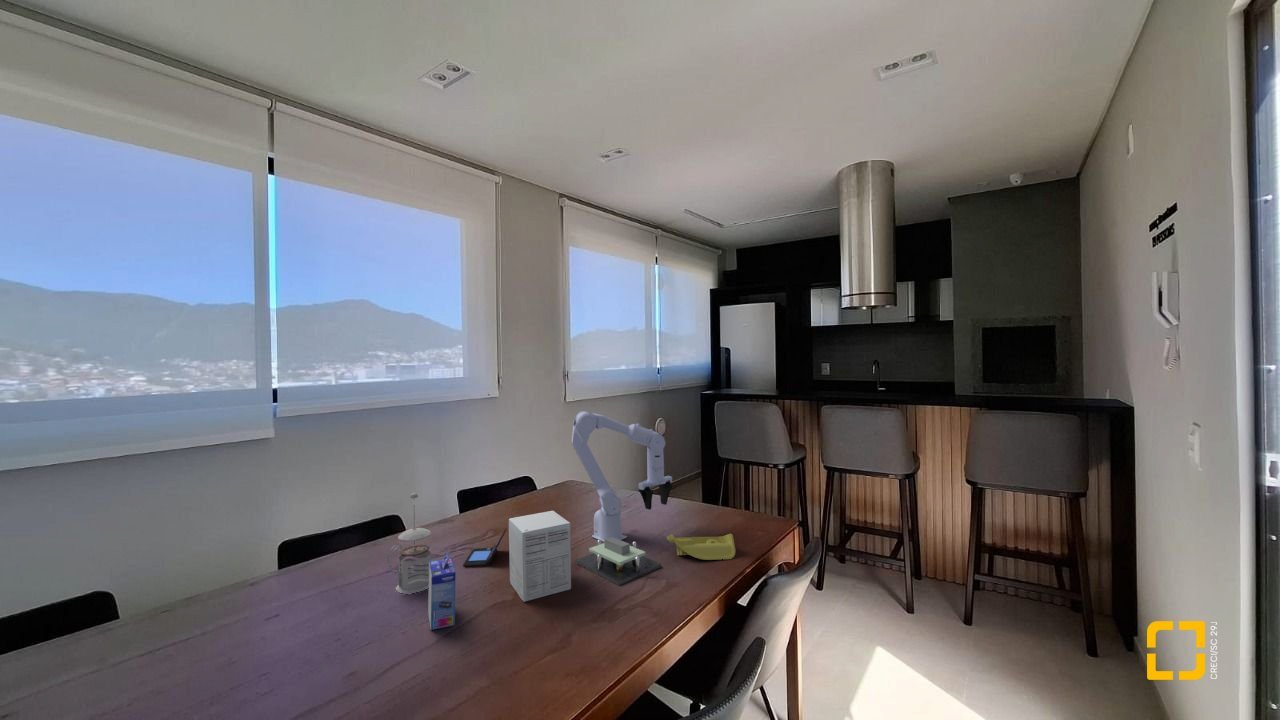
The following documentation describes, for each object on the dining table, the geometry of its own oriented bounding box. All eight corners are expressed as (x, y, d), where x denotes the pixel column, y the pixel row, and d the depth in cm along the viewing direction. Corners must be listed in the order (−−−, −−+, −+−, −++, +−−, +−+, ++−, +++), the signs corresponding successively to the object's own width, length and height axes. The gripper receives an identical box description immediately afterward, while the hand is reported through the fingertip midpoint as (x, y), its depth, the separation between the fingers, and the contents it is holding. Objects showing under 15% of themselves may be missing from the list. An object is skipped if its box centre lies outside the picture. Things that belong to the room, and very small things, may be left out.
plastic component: (722, 536, 153) (733, 532, 144) (724, 561, 150) (737, 558, 141) (663, 537, 149) (671, 533, 140) (664, 563, 146) (673, 560, 137)
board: (589, 551, 140) (588, 539, 140) (614, 541, 147) (614, 531, 147) (619, 565, 130) (619, 553, 130) (645, 554, 136) (645, 543, 136)
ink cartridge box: (457, 625, 107) (456, 561, 107) (430, 632, 105) (429, 566, 105) (452, 606, 116) (451, 547, 116) (428, 611, 114) (427, 551, 114)
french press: (441, 584, 127) (440, 492, 128) (395, 601, 119) (394, 502, 119) (426, 574, 134) (424, 486, 134) (382, 588, 126) (380, 495, 126)
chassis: (575, 563, 140) (575, 546, 140) (616, 548, 151) (616, 532, 151) (619, 585, 125) (618, 566, 125) (661, 567, 136) (661, 549, 136)
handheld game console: (473, 552, 150) (472, 528, 150) (507, 550, 151) (507, 527, 151) (461, 569, 138) (461, 543, 138) (499, 567, 139) (499, 542, 139)
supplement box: (572, 589, 124) (571, 522, 124) (523, 603, 117) (522, 532, 117) (554, 570, 135) (553, 509, 135) (508, 582, 128) (507, 518, 128)
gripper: (648, 472, 155) (649, 513, 155) (678, 465, 165) (678, 504, 165) (634, 469, 160) (634, 509, 160) (663, 462, 170) (664, 500, 170)
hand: (656, 506), depth 163 cm, fingers open, 7 cm apart
